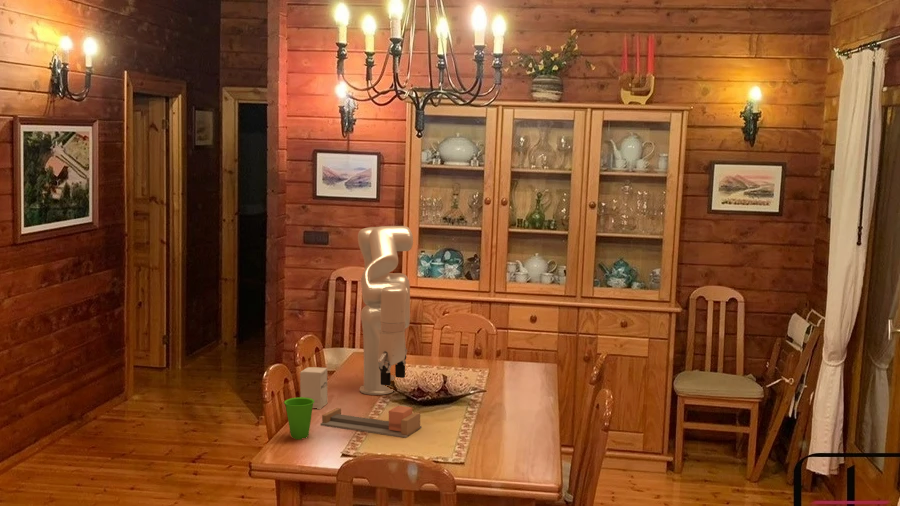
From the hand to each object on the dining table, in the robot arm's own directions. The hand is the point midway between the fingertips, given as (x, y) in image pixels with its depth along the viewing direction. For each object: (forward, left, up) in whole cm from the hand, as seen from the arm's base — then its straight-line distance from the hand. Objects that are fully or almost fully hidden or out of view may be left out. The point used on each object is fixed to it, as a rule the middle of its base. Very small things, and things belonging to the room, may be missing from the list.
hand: (393, 381), depth 282 cm
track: (+1, -7, -15) cm, 17 cm away
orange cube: (+1, +3, -15) cm, 15 cm away
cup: (+19, -22, -15) cm, 33 cm away
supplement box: (-11, -36, -15) cm, 40 cm away
